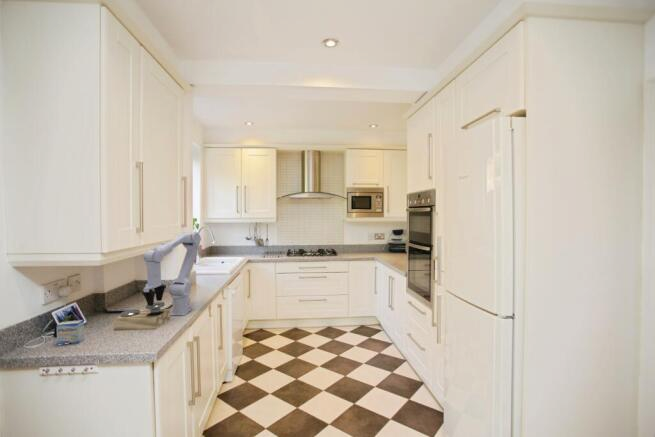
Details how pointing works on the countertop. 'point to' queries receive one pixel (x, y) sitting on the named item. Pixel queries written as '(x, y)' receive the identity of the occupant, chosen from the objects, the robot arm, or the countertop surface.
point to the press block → (142, 320)
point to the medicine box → (70, 332)
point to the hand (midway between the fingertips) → (155, 302)
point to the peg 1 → (130, 313)
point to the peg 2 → (155, 308)
